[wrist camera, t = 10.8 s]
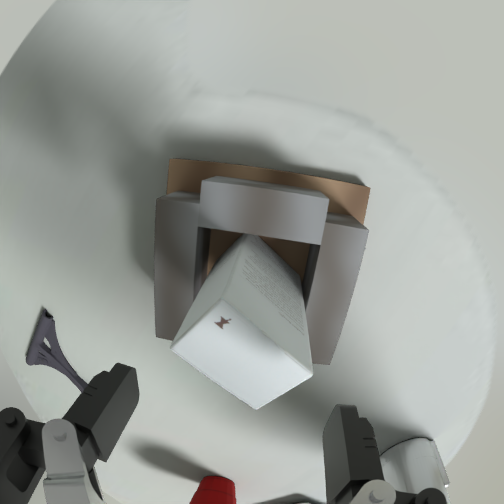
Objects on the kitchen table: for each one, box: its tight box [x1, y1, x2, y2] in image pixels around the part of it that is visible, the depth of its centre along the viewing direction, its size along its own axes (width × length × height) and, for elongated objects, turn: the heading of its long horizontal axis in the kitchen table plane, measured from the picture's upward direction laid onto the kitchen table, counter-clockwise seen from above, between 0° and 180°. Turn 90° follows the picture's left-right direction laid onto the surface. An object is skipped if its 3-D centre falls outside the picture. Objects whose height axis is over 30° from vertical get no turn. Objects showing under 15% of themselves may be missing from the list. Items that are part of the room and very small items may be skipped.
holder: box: [154, 159, 370, 365], centre depth 23 cm, size 16×16×6 cm
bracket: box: [26, 309, 88, 393], centre depth 33 cm, size 14×15×3 cm
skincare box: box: [170, 233, 313, 410], centre depth 19 cm, size 6×4×12 cm
